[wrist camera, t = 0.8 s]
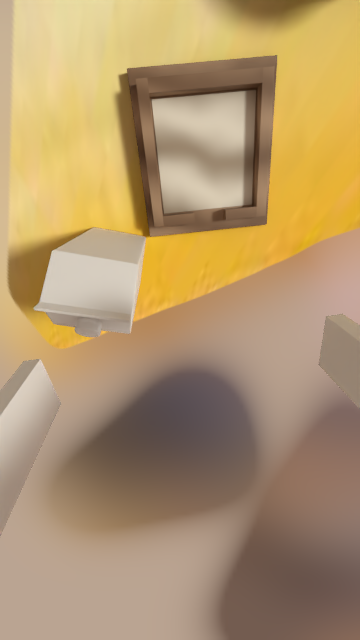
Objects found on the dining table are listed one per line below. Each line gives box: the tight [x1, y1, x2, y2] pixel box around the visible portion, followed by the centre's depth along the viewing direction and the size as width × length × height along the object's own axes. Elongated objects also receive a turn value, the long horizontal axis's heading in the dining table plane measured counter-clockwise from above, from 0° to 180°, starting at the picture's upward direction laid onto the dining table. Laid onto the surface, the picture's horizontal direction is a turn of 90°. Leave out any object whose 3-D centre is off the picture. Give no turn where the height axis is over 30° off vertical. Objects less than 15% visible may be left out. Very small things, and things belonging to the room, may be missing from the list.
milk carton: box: [34, 227, 146, 337], centre depth 28 cm, size 7×7×19 cm
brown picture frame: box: [127, 55, 277, 237], centre depth 30 cm, size 17×16×2 cm
